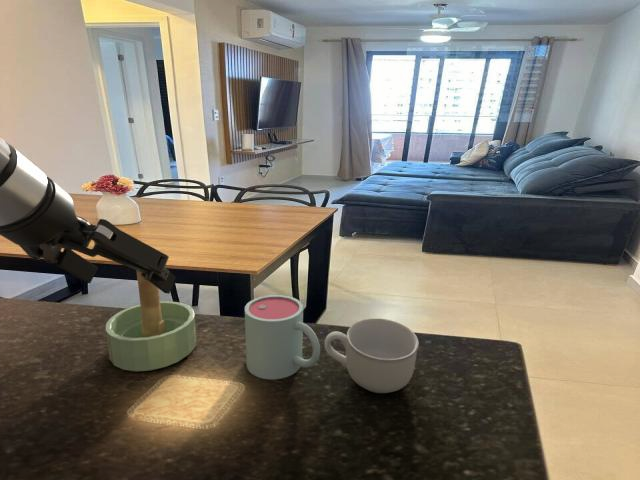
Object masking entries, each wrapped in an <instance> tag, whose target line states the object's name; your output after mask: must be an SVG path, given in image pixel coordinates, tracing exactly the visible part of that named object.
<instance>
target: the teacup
mask: <svg viewBox="0 0 640 480" xmlns="http://www.w3.org/2000/svg"><path fill="white" fill-rule="evenodd" d="M334 340H338V341H340V342H341V343H342V345H343V348H344V350H345V355H344V354H342V353H340V352H338V351H337V350H335V349H334V347H333V346H332V344H331V343H332V341H334ZM419 343H420V342H419V338H418V336H417V335H416V334H415V332H414V331H413V330H411V328H410V327H408V326H406V325H404V324H402V323H400V322H398V321H395V320H392V319H388V318H373V317H372V318H365V319H362V320H359V321H355V322H354V323H352V324H351V326H350V327H349V328H348V329H347V331H346V334H345V333H343V332H341V331H336V330H335V331H332V332H329V333H328V334H327V336H326V337H325V339H324V349H325V351H326V353H327V354H328V356H329V357H331V358H332V359H334V360H335V361H337V362H338V363H340V364H341V366H342V367H343V368H344V369H345V368H346V369H347V372H348V374H349V376H350V378H351V379H352V381H353V382H355V383H356V384H357V385H358V386H359V387H361V388H363V389H364V390H367V391H368V392H371V393H376V394H388V393H393V392H397V391H400V390H401V389H404V387H406V386H407V385H408V384H409V383H410V381H411V379H412V377H413V374H414V372H415V371H414V370H415V366H416V360H417V353H418V350H419V347H420V345H419Z"/></svg>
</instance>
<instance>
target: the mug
mask: <svg viewBox="0 0 640 480" xmlns="http://www.w3.org/2000/svg"><path fill="white" fill-rule="evenodd" d="M244 328H245V329H244V331H245V336H244V337H245V363H246V364H245V365H246V369H247V371H248V372H249V373H250V374H251V375H253V376H254V377H257V378H260V379H264V380H280V379H284V378H288V377H290V376H292V375H294V374H295V373H297V372H298V371H299V370H300V369H301V367H302V368H311V367H313V366H315V365H316V364H317V363H318V361H319V359H320V355H321V345H320V341H319V338H318V336H317V334H316V332H314V330H313V329H312V327H310V326H309V325H308V324H306V323H304V305H303V303H302V302H301V301H300V300H299V299H297V298H295V297H292V296H289V295H283V294H269V295H263V296H259V297H256V298H254V299H252V300H250V301H248V302H247V303H246V305H245V306H244ZM303 333H304V335H305V336H306V337H307V338H308V339H309V342H310V344H311V348H312V354H311V357H310V358H309V359H304V358H303V341H304V339H303V337H304V335H303Z"/></svg>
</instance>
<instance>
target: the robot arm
mask: <svg viewBox="0 0 640 480" xmlns="http://www.w3.org/2000/svg"><path fill="white" fill-rule="evenodd" d="M96 223H97V224H93V223H90V222H89V221H88V220H87V219H85V218H83V217H82V216H79V215H77V213H76V209H75V203H74V200H73V198H72V196H71V195H70V194H69V193H68V192H67V191H66V190H65V189H63V188H62V187H61V186H60V185H58V183H56V182H55V181H54V180H52V179H51V178H50V177H49V176H47V175H46V173H45V172H43V171H42V170H41V169H40V168H39V167H38V166H36V165H35V163H33V162H32V161H31V160H30V159H28V158H27V157H26V156H24V155H23V153H21V152H20V151H18V149H16V148H15V147H14V146H13V145H11V144H9V143H8V142H7V141H6V140H5V139H3V138H2V137H1V136H0V236H1V237H3V238H4V239H7V240H8V241H10V242H12V243H13V244H15V245H17V246H18V247H20V248H21V249H22V250H23V252H24V253H25V254H26V255H27V256H28V257H29V258H31V260H34V261H40V260H41V258H43V261H44V262H46V263H48V264H54V263H55V266H56V267H58V268H60V269H62V270H63V271H65V272H67V273H68V274H70V275H72V276H73V277H75V278H77V279H78V280H80V281H82V282H84V283H85V284H92V281H93V279H94V277H95V274H96V273H97V271H98V269H99V267H98V266H97V265H94V264H93V263H91V262H90V261H88V260H87V259H86V258H84V257H82V256H81V255H80V254H78V253H81V254H83V255H85V256H88V257H91V258H95V257H97V256H100V257H102V258H104V259H107V260H109V261H112V262H115V263H117V264H120V265H122V266H124V267H127V268H130V269H132V270H135V271H136V272H137V271H140V272H142V276H143V277H144V279H145V280H148V281H149V282H151V283H152V284H153V285H155V286H156V287H157V288H159V291H161V292H162V293H164V294H167V295H169V294H170V293H171V290H172V288H173V285H174V282H175V280H176V275H174V274H173V273H172V272H171V271H169V269H168V268H167V267H166V265H167V263H168V261H169V258H170V257H169V255H167V254H166V253H163V252H162V251H160V250H158V249H156V248H154V247H152V246H151V245H149V244H147V243H145V242H143V241H142V240H139V239H138V238H136V237H135V236H133V235H131V234H129V233H127V232H126V231H123V230H121V229H120V228H118V227H117V226H115V225H114V224H113V223H111V222H110V221H108V220H107V219H104V218H99V220H98V222H96ZM92 241H93V246H92V248H89V246H90V244H91V242H92ZM62 249H63V250H62ZM77 252H78V253H77Z"/></svg>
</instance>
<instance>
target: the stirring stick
mask: <svg viewBox="0 0 640 480" xmlns="http://www.w3.org/2000/svg"><path fill="white" fill-rule="evenodd" d="M136 279H137V288H138V295H139V302H140V303H139V305H141V314H142V321H141V327H142V336H143V337H152V336H157V335H161V334H164V333H165V329H164V321H162V316H161V305H160V301H161V297H160V295H161V294H160V289H159V288H157V287H156V286H155V285H153V284H152V283H151V282H149V281H148V280H145V279H144V277H143V276H142V272H140V271H137V270H136Z"/></svg>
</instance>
